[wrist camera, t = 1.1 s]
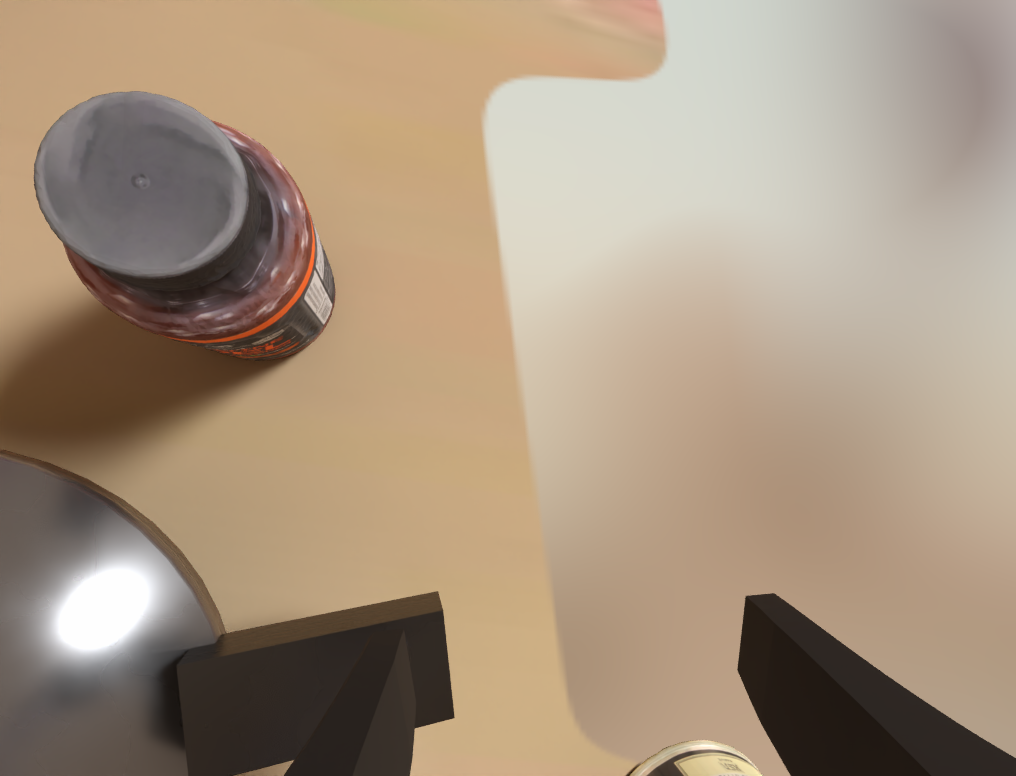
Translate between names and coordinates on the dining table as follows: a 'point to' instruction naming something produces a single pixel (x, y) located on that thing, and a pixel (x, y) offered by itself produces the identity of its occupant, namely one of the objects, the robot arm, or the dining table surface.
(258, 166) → the supplement bottle
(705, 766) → the coffee can
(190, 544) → the dining table surface
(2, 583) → the cooker lid
